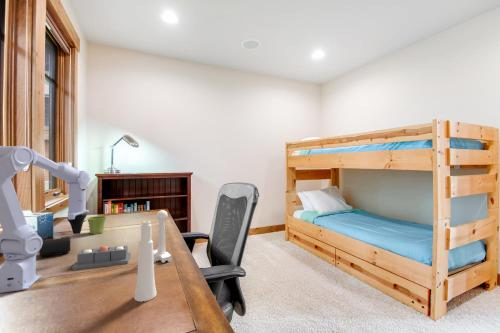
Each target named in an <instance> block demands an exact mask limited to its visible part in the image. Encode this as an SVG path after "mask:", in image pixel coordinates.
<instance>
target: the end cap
mask: <svg viewBox="0 0 500 333" xmlns="http://www.w3.org/2000/svg"><path fill="white" fill-rule="evenodd" d="M42 241H43V244H42V247H41V249H40V250H39V251H38V252H39V253H38V254H39V256H40V257H41V258H45V257H50V256H57V255H62V254H68V253H70V252H71V237H70V236H64V237H63V236H62V237H60V238H48V239H47V238H46V239H42Z"/></svg>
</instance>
